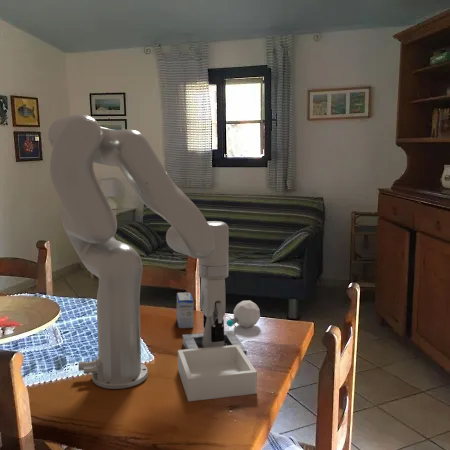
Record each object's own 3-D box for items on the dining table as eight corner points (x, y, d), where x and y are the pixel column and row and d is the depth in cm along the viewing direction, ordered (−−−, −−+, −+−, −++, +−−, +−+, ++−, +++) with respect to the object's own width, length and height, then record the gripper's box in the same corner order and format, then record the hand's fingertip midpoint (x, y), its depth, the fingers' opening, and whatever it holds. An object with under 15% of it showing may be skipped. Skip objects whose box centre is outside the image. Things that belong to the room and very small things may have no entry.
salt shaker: (221, 357, 123) (222, 308, 121) (199, 355, 125) (199, 306, 123) (226, 348, 129) (226, 301, 127) (205, 346, 130) (205, 299, 128)
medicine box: (176, 319, 150) (176, 292, 149) (190, 318, 151) (190, 291, 150) (178, 328, 143) (178, 300, 141) (193, 327, 144) (193, 299, 142)
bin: (188, 401, 102) (188, 379, 101) (177, 369, 116) (177, 350, 115) (256, 393, 105) (256, 371, 105) (238, 363, 120) (238, 344, 119)
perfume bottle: (270, 315, 144) (243, 331, 136) (254, 325, 150) (227, 340, 141) (257, 292, 145) (229, 306, 137) (241, 302, 151) (214, 316, 143)
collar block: (191, 365, 118) (191, 356, 118) (182, 343, 132) (182, 334, 132) (246, 360, 122) (246, 351, 121) (232, 339, 135) (232, 330, 135)
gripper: (193, 263, 131) (193, 323, 134) (205, 279, 114) (205, 348, 117) (220, 261, 133) (219, 321, 135) (236, 278, 116) (235, 345, 119)
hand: (213, 334), depth 126 cm, fingers open, 9 cm apart
